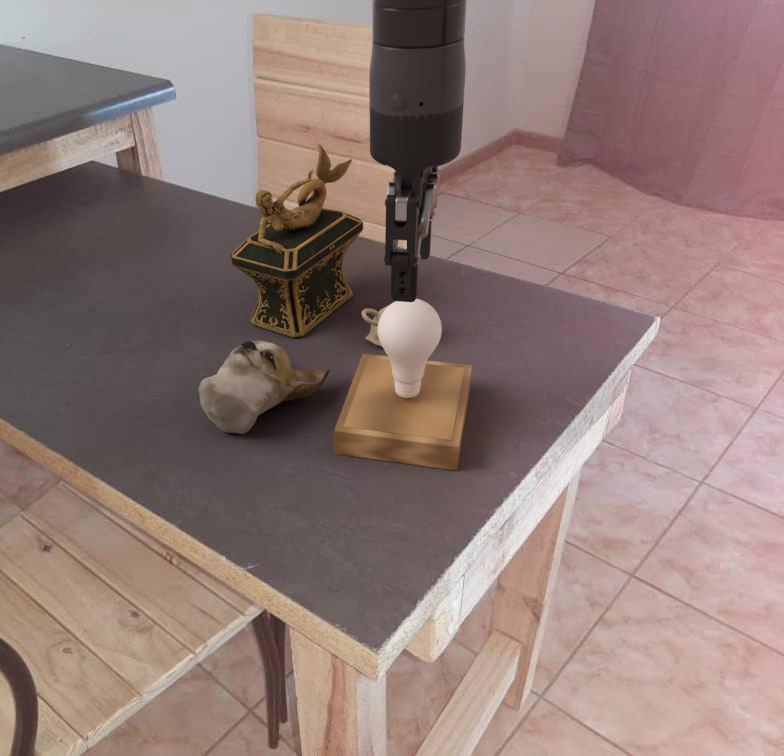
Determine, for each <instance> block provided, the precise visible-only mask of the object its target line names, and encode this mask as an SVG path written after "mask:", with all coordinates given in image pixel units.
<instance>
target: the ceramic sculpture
mask: <svg viewBox="0 0 784 756" xmlns="http://www.w3.org/2000/svg"><path fill="white" fill-rule="evenodd" d="M330 372H331V368H325V369H321V370H314V369H309V368H301V369H293V368H292V364H291V361H290V357H289V355H288V353H287V352H286V351H285V349H283V348H282V347H281V346H279V345H277V344H276V343H272V342H269V341H266V340H260V339H254V340H251V341H250V340H249V341H248V340H247V341H245V342H243V343H241V345H239V346H236V347H235V348H234V349H232V350H231V351H230V353H229V355H228V357H226V359H225V360H224V362H223V363H222V365H221V366H220V368H219V369H218V370H217V372H216V374H214V375H212V376H208V377H205V378H203V379H202V380H201V381H200V383H199V387H198V388H197V390H198V394H199V402H200V406H201V408H202V410H203V411H202V412H204V413H205V415H206V416H207V418H208V420H209V421H211V422H212V423H213V424H214V425H215V426H216V427H217V428H218V429H219V430H220V431H221V432H225V433H229V434H239V435H244V434H246V433H248V432H250V430H251V429H252V428H253V427H254V425H255V424H256V421H257V418H258V417H259V416H260V415H262V414H263V413H265V412H266V411H268V410H270V409H272V408H274V407H275V406H276V407H277V405H279V404H281V403H282V402H285V401H286V402H289V401H294V400H297V399H302V398H306V397H309V396H310V395H312V394H314V393H315V392H316V391H317V390H318V389H319V388H320V387H321V386H322V385H323V384H324V383H325V381H326V379H327V377H328V375H329V374H330Z"/></svg>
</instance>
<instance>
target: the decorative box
mask: <svg viewBox="0 0 784 756" xmlns="http://www.w3.org/2000/svg"><path fill="white" fill-rule="evenodd" d="M317 148H318V149H317V151H318V160H317V163H316V168H315V171H314V169H313V168H312V169H311V170H310V171H308V174H307V177H306V178H305V179H302V180H299V181H296V182H295V183H292V184H291V185H289V186H288V188H287V189H286V190H285V191H284V192H282V194H281V195H280V196H278V197H277V198H276V200H274V197H273V195H272V193H271V192H270V191H269V190H263V189H262V190H259V191H257V192H256V193H255V205H256V206H257V208H258V209H259V211H260V213H262V215H261V219H260V221H259V229H258V231H255V233H253V234H252V235H250V236H248V237H246V239H245V240H244V241H243V242H242V243H241V244H240V245H239V246H237V248H236V249H235V250H233V251H232V252H231V254H230V258H231V264H232V266H233V267H235V268H236V269H238V270H239V271H240V272H242V273H243V274H244V275H246V276H248V277H249V278H250V279H251V280H252V281H253V282H254V284H255V285H256V287H257V292H258V293H257V294H258V295H257V296H258V297H257V302H256V304H255V307H254V309H253V312H252V313H251V316H250V322H251V325H253V326H257V327H260V328H262V329H266V330H269V331H271V332H275V333H278V334H281V335H285V336H287V337H290V338H300V337H304V336H305V335H306V334H308V333H309V332H310V331H311V330H313V329H314V328H315V327H317V325H318V324H320V323H321V322H322V321H324V320H325V319H326V318H327V317H328V316H330V315H331V314H332V313H333V312H334V311H336V310H337V309H338V308H340V307H341V306H342V305H343V304H344V303H346V302H347V301H348V300H350V299H351V298H352V297H353V296H354V295H353V294H354V293H353V291H352V289H351V287H350V286H349V284H348V282H347V281H346V279H345V276H344V271H343V264H344V258H345V255H346V253H347V250H348V249H349V247H350V246H351V245H352V244H353V242H354V241H355V240H356V239H357V238H358V237H359V235H360V234H361V233H362V232H363V230H364V222H363V220H362V219H361V218H359V217H357V216H354V215H352V214H350V213H347V212H345V211H341V210H337V209H332V208H327V207H324V203H325V201H326V199H327V187H326V184H329V183H335V182H337V181H339V180H340V179H342V177H343V176H344V175H346V173H347V171H348V169H349V168H350V166H351V164H352V162H353V159H352V158H350V159H348V160H346V161H344V162H340V163H338V164H336V165H335V166H334V168H332V162H331V159H330V157H329V156H328V153H327V152H326V150H325V149H324V147H323V146H322V145H321V144H320V143H317ZM331 168H332V169H331ZM314 173H315V175H316V177H317V178H312V175H313V174H314ZM299 188H301V189H300V191H299V193H298V196H297V204H298V206H296V207H294V208H292V209H289V208H286V207H285V204H284V203H285V201H286V200H287V199H288V198H289V197H290V196H291V195H292V193H293V192H294V191H295V190H297V189H299Z"/></svg>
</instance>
